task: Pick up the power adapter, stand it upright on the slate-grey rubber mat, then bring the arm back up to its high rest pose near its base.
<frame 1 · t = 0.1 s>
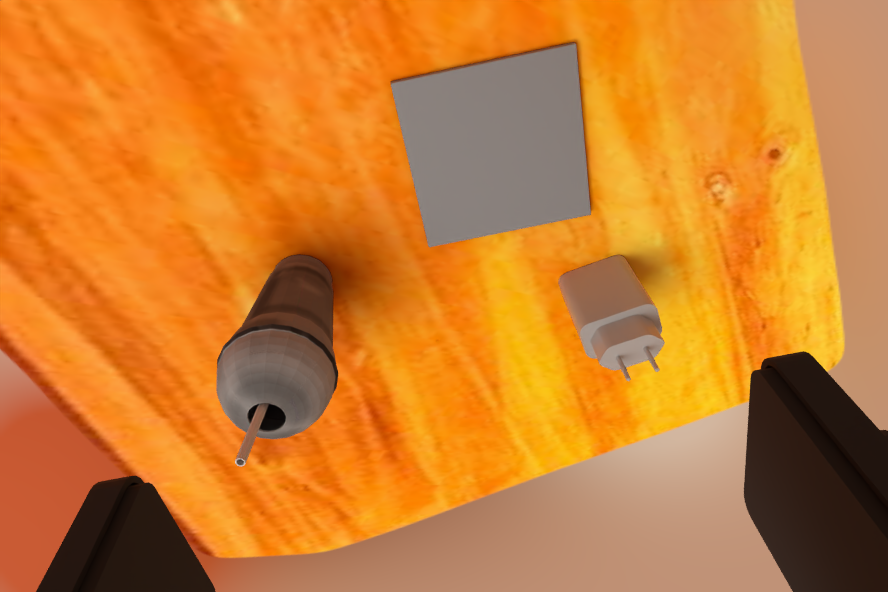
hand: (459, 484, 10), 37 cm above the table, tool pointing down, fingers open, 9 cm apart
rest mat: (495, 150, 46), on the table
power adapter: (594, 279, 52), on the table
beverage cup: (302, 279, 50), on the table
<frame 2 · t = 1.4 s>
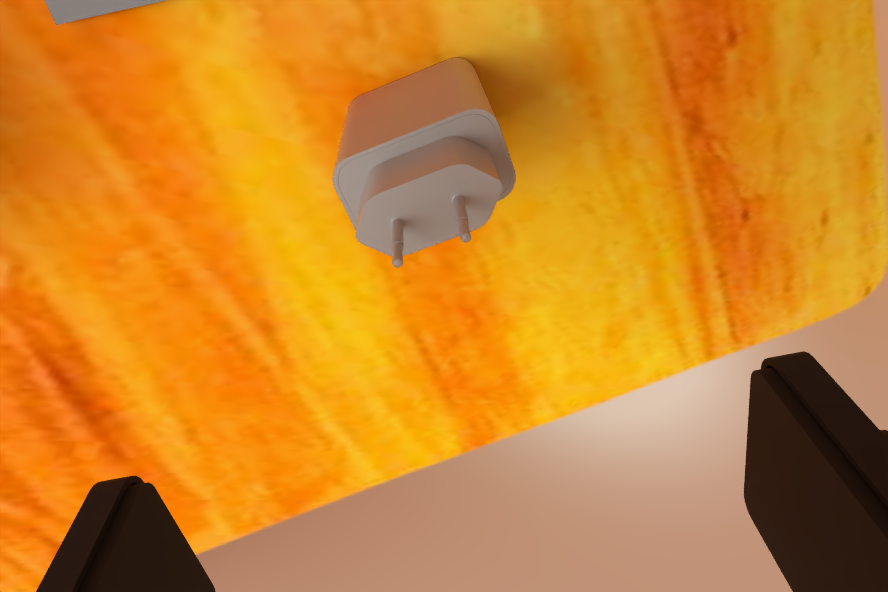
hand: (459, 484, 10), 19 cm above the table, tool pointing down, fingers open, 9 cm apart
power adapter: (418, 112, 27), on the table
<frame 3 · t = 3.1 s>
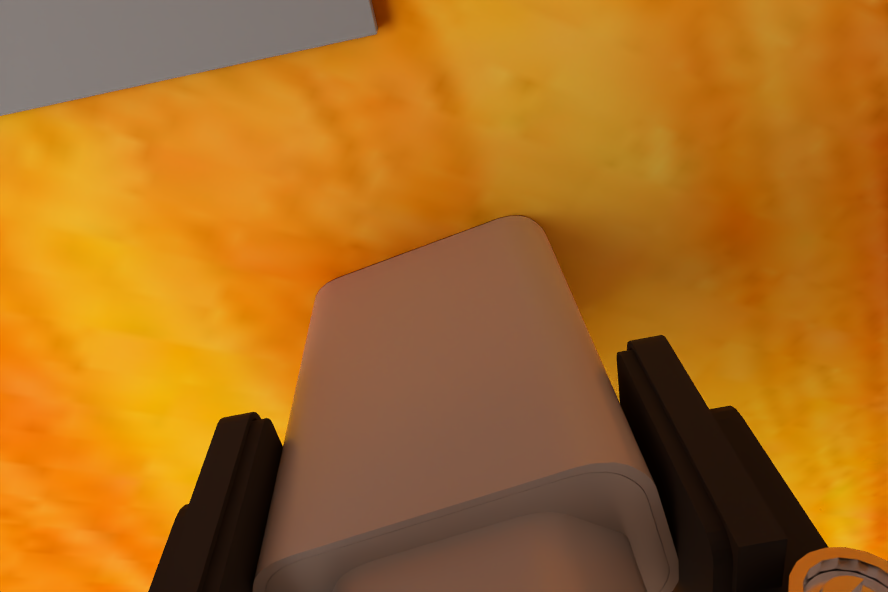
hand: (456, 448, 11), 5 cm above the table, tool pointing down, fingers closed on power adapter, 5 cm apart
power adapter: (441, 301, 15), on the table, touching gripper
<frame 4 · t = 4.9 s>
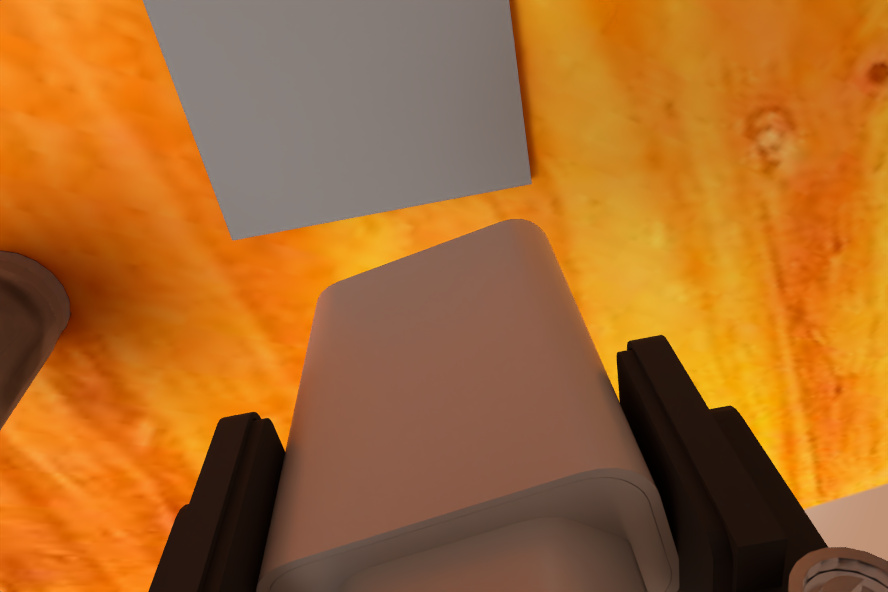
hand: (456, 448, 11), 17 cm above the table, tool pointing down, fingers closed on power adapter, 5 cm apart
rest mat: (342, 51, 24), on the table
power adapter: (442, 304, 15), point 12 cm above the table, touching gripper
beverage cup: (16, 297, 28), on the table
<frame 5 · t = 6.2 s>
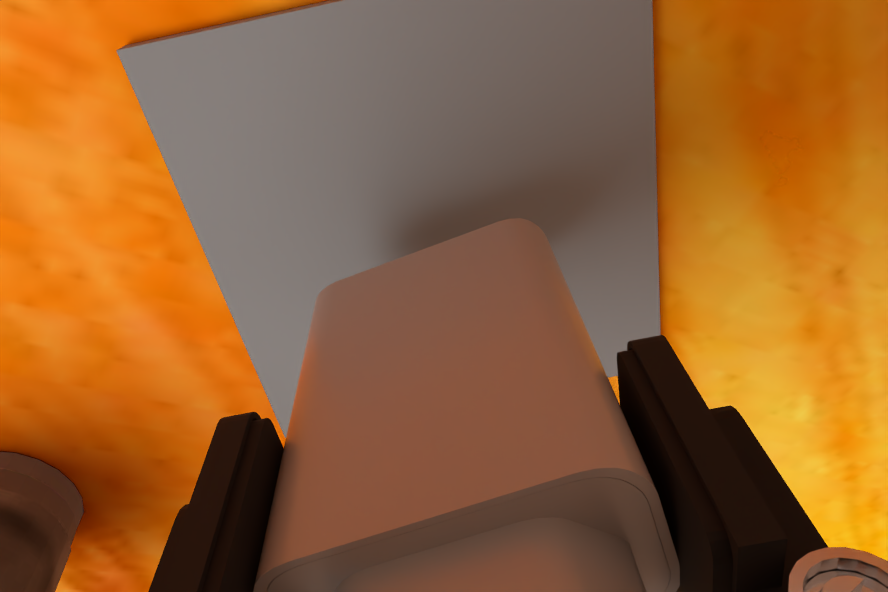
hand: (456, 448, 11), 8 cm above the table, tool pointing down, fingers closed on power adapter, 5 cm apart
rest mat: (431, 224, 18), on the table
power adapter: (441, 304, 15), point 4 cm above the table, touching gripper
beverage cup: (16, 494, 23), on the table
when the fingers open (6 cm above the table, at t = 6.9 s): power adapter drops 1 cm, resting on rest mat.
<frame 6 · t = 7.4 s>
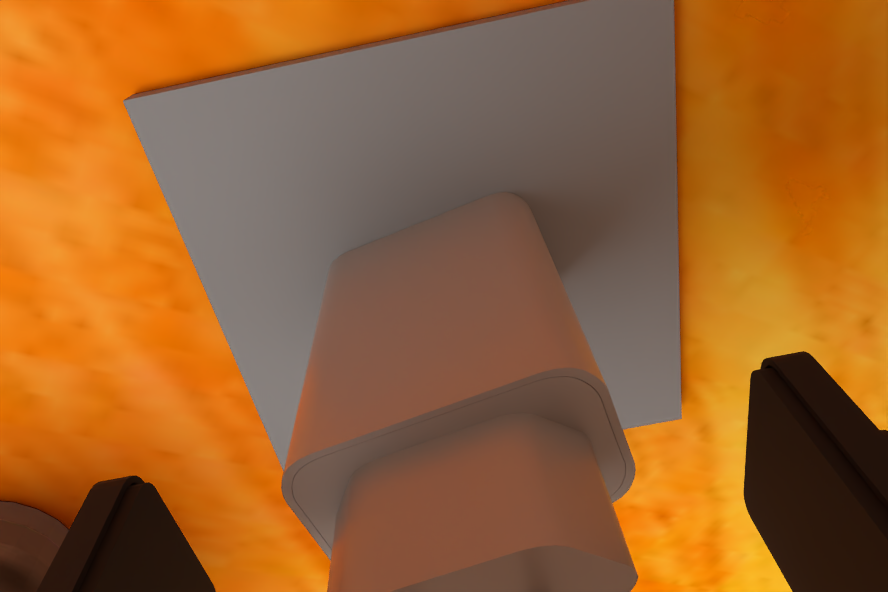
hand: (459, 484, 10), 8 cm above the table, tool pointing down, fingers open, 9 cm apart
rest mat: (444, 273, 18), on the table
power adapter: (440, 272, 17), resting on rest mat
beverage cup: (14, 544, 22), on the table
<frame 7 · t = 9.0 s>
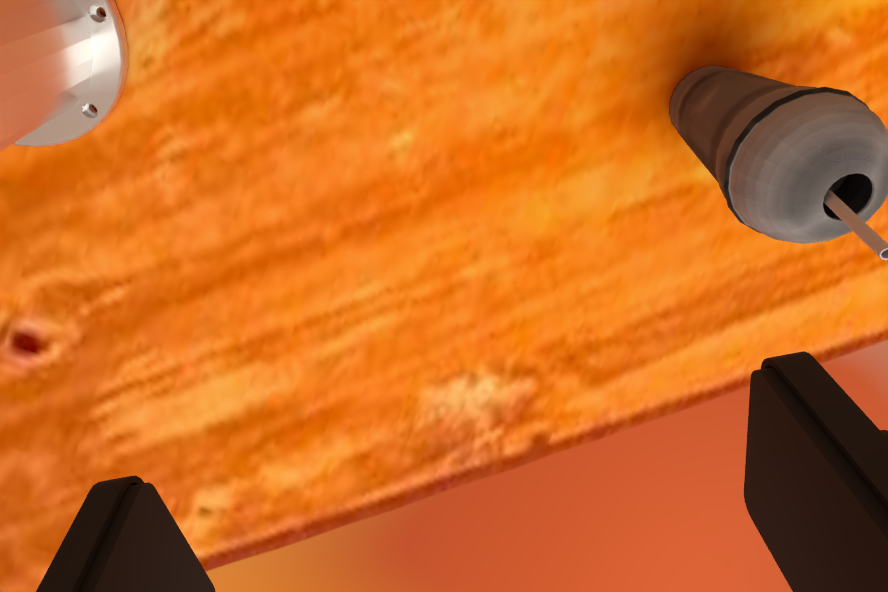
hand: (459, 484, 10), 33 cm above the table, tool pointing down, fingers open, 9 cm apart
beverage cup: (704, 102, 41), on the table
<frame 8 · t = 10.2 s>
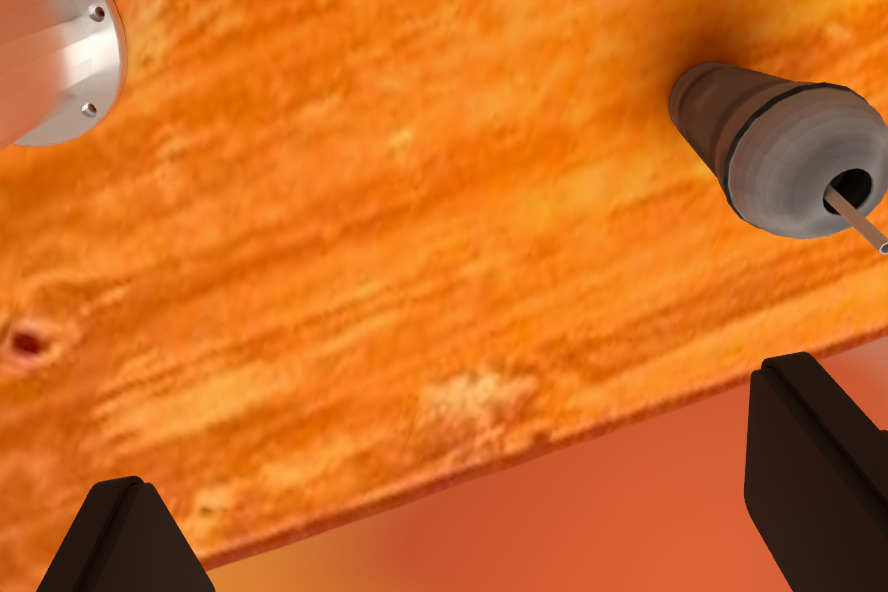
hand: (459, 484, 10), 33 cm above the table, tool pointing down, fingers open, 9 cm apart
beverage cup: (703, 98, 41), on the table
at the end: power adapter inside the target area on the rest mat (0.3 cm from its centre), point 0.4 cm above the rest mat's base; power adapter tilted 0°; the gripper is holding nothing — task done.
